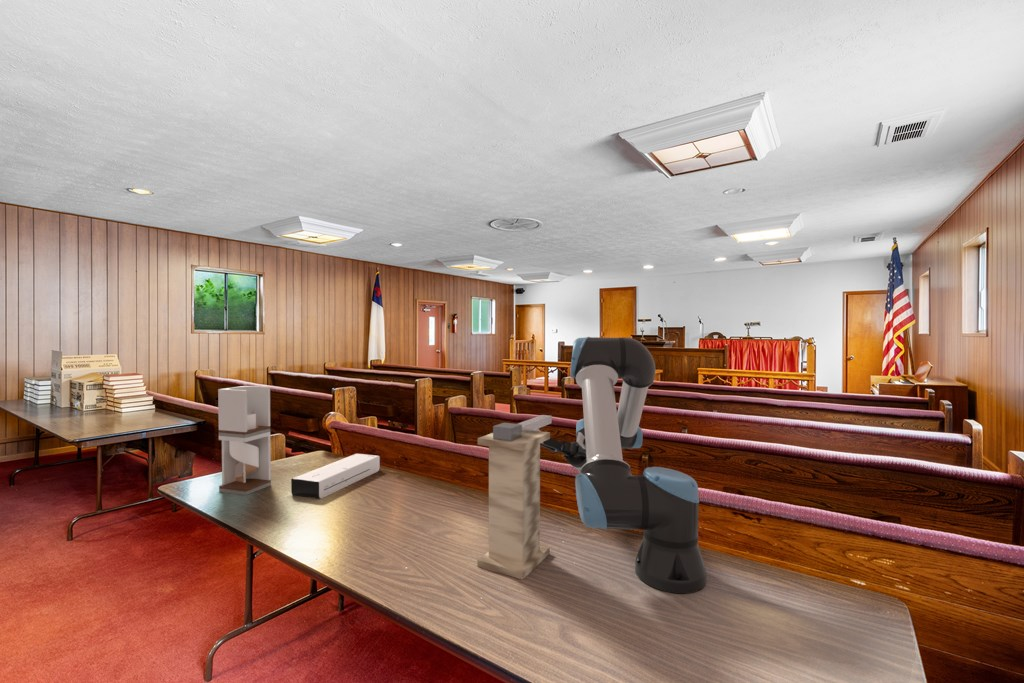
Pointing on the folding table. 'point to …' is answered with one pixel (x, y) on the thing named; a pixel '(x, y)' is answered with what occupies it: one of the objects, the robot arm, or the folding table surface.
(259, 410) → the white tower
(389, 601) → the folding table surface
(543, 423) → the grey long bar
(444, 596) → the folding table surface
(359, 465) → the laminator
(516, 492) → the pedestal
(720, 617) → the folding table surface
